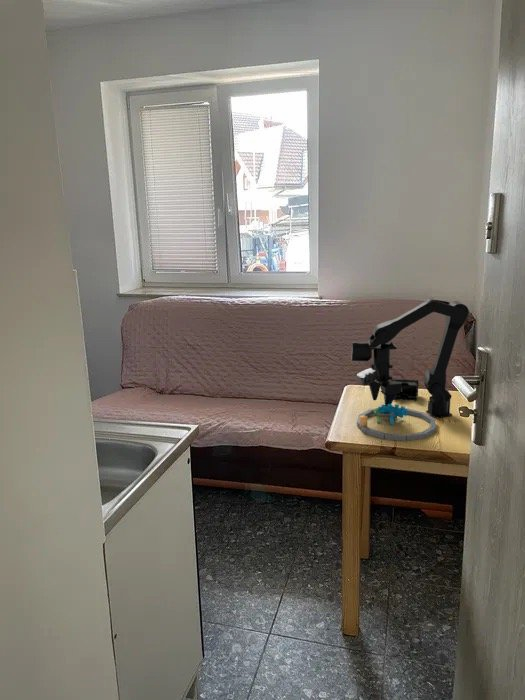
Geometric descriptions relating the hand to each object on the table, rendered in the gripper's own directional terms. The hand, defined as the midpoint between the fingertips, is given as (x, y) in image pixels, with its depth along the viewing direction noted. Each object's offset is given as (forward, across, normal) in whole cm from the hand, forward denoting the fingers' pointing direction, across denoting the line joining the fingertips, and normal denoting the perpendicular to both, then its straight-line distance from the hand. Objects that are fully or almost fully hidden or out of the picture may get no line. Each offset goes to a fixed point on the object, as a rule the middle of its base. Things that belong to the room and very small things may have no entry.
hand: (380, 404), depth 188 cm
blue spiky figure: (+4, +8, 0) cm, 8 cm away
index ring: (+4, +11, 0) cm, 11 cm away
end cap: (+4, -13, +16) cm, 21 cm away
